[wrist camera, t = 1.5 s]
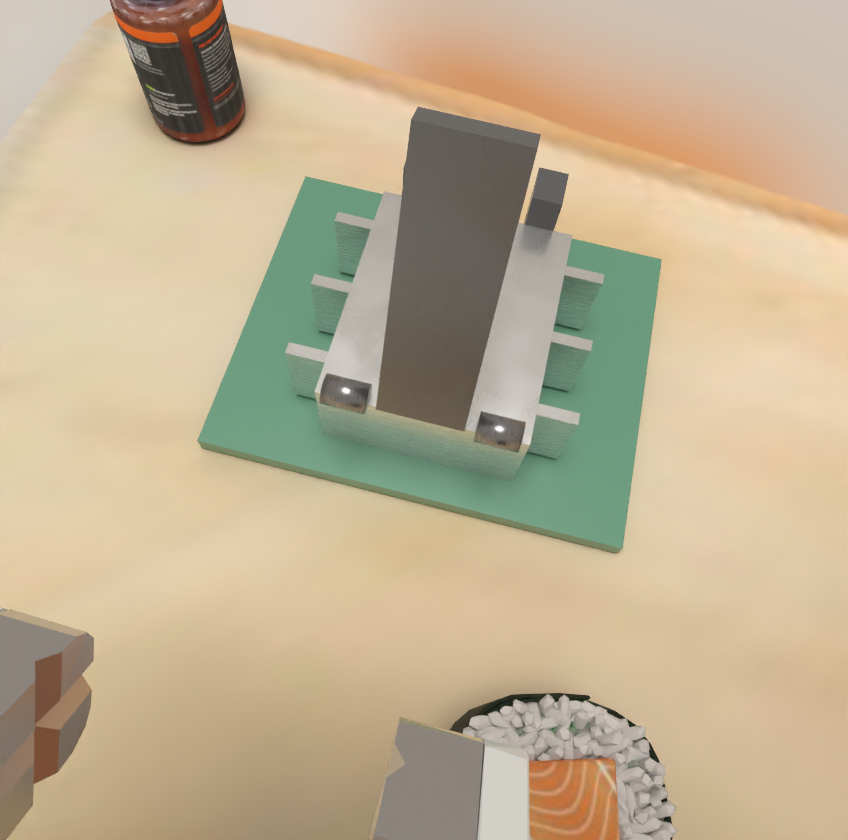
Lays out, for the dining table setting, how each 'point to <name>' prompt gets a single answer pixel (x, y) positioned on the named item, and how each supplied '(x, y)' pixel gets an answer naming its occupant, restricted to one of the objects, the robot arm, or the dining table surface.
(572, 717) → the sushi
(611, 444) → the circuit board
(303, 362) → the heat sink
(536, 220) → the posts
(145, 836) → the dining table surface
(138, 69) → the supplement bottle
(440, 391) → the steel strap
